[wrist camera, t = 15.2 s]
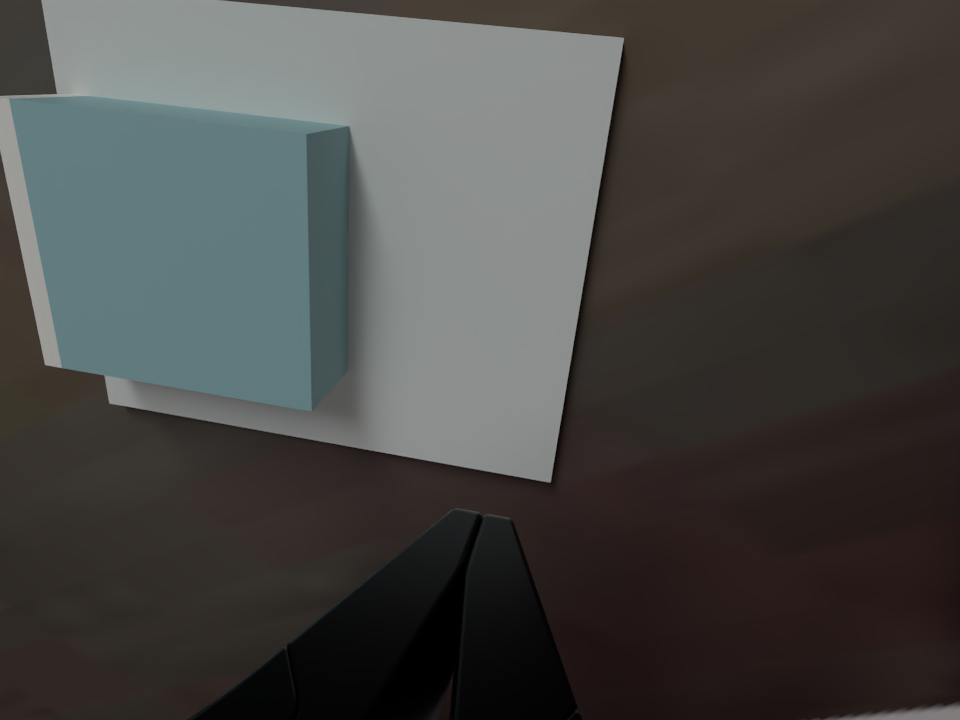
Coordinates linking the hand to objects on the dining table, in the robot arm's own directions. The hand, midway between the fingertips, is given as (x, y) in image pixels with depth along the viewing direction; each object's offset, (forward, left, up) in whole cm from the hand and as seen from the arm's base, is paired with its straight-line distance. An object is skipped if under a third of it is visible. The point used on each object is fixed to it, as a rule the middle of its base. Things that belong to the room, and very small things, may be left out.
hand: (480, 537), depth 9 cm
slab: (+6, 0, -10) cm, 12 cm away
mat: (+7, 0, -12) cm, 15 cm away
